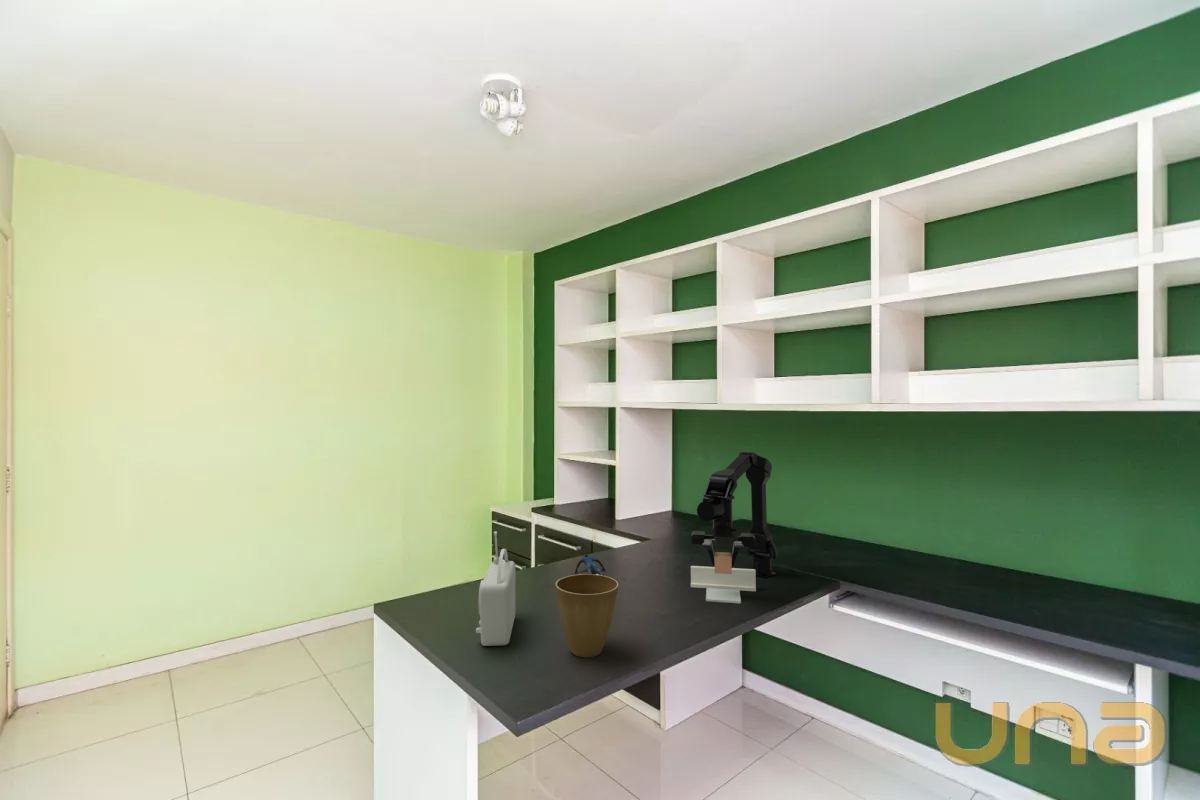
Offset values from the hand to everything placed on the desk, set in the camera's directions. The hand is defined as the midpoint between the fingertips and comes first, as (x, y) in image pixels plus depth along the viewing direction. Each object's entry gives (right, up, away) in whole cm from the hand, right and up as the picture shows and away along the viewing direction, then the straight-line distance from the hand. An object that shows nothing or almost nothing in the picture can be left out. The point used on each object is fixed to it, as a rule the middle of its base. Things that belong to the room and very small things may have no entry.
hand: (723, 567), depth 164 cm
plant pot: (-40, -9, -36) cm, 54 cm away
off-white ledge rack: (+2, -9, +8) cm, 12 cm away
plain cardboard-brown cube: (0, -1, 0) cm, 1 cm away
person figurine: (-40, -10, +22) cm, 47 cm away
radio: (-64, -9, -25) cm, 69 cm away
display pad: (0, -9, 0) cm, 9 cm away
